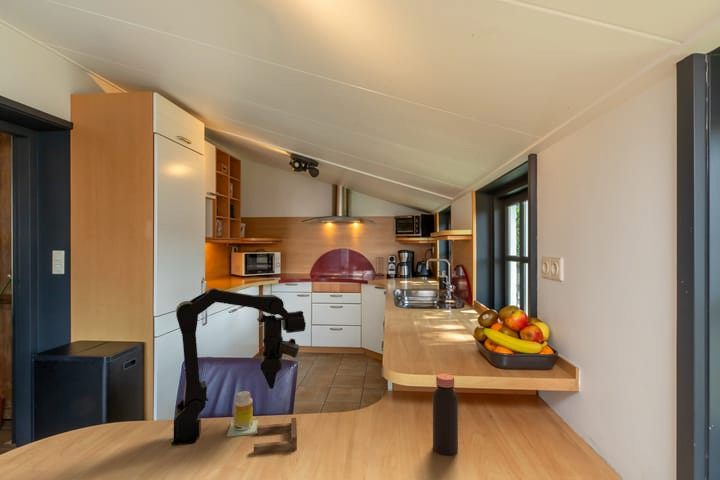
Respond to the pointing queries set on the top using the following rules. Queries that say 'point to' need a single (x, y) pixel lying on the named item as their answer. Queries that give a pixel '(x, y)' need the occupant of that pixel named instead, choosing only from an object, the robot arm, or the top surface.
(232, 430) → the coaster
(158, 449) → the top surface
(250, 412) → the supplement bottle
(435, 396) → the black water bottle
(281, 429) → the frame
